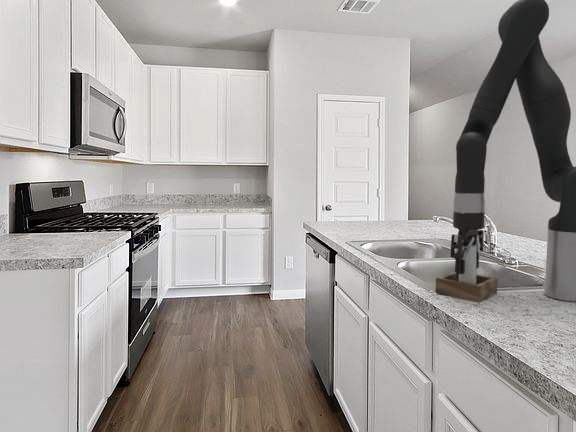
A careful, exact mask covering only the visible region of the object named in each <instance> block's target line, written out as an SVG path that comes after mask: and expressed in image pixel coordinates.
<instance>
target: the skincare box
mask: <svg viewBox="0 0 576 432" xmlns="http://www.w3.org/2000/svg"><path fill="white" fill-rule="evenodd" d="M466 247H467V246H462V248H466ZM476 249H477V247H476V244H475V245H471V248H470V251H469V253H467V254H466V257H465V259H464V260H465V273H464V274H459V282H464V283H469V284H475V285H476V275H477V269H476ZM462 253H463V252H462Z"/></svg>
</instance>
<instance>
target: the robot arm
mask: <svg viewBox="0 0 576 432" xmlns="http://www.w3.org/2000/svg"><path fill="white" fill-rule="evenodd" d="M549 18H550V7H549V5H548V2H547V0H517V1H516V2H514V3H512V5H511V6H510V7H509V8H507V10H506V11H504V13H503V14H502V15H501V17H500V18H499V21H498V27H497V30H498V36H499V38H500V41H501V44H500V47H499V51H498V52H497V55H496V57H495V58H494V61H493V63H492V64H491V67H490V69H489V71H488V72H487V74H486V76H485V77H484V79H483V81H482V83H481V84H480V86H479V89H478V91H477V93H476V95H475V98H474V100H473V102H472V105H471V107H470V111H469V114H468V118H467V121H466V123H465V125H464V128H463V129H462V132H461V133H460V134H461V135H460V136H459V138H458V140H457V142H456V145H455V153H456V174H455V180H454V198H453V208H452V209H453V211H452V212H453V215H452V227H453V228H455V229H457V230H458V231H457V234H453V233H452V234H451V236H450V237H451V240H450V241H451V242H450V258H451V259H452V258H453V259H454V272H455V273H457V274H464V273H465V260H464V259H465V257H466V254H467V253H469V251H470V248H471V245H475V244H476V247H477V249H476V270H477V269H479V267H480V255H481V252H484V250H485V249H484V248H485V247H484V245H485V244H484V238H485V237H484V236H485V233H484V230H483V229H484V228H485V219H486V218H485V212H486V209H485V208H486V199H485V185H486V183H485V180H486V179H485V178H486V177H485V168H486V161H487V151H488V150H487V149H488V148H487V145H488V141H489V139H490V137H491V133H492V131H493V129H494V127H495V125H496V124H497V122H498V120H499V118H500V116H501V114H502V111H503V109H504V106H505V104H506V102H507V99H508V97H509V95H510V93H511V90H512V87H513V85H514V83H515V82H516V85H517V88H518V93H519V95H520V99H521V103H522V107H523V111H524V113H525V117H526V120H527V123H528V126H529V129H530V132H531V136H532V139H533V143H534V147H535V150H536V153H537V159H538V162H539V163H538V164H539V169H540V175H541V181H542V186H543V189H544V193H545V194H546V195H547V197H548V198H549V199H550V200H552V201H553V202H557V203H559V208H558V212H557V214H556V215H554V216H552V217H550V218H549V220H548V224H547V236H546V237H547V242H546V259H545V260H546V261H545V276H544V277H545V278H544V292H543V294H544V295H545V296H546V297H549V298H553V299H555V300H559V301H567V302H576V166H574V165H573V163H572V161H571V158H570V157H571V156H570V155H569V150H568V142H567V141H568V134H569V129H570V126H571V125H570V124H571V118H572V112H571V106H570V102H569V99H568V95H567V92H566V88H565V86H564V84H563V81H562V80H561V79H560V77H559V76H558V74H557V73H556V71H555V70H554V69H553V68H552V66H551V65H550V63H549V62H548V61H547V59H546V57H545V54H544V52H543V48H542V45H541V40H540V35H541V33H542V31H543V29H544V28H545V27H546V25H547V23H548V21H549ZM462 246H467V247H466V248H462ZM462 252H463V253H462Z"/></svg>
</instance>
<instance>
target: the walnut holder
mask: <svg viewBox="0 0 576 432" xmlns="http://www.w3.org/2000/svg"><path fill="white" fill-rule="evenodd" d="M434 292H435V294H439V295H444V296H448V297H453V298H458V299H462V300H466V301H470V302H474V303H480V302H482V301H485V300H486V299H488V298H490V297H493V296H494V295H497V293H498V278H497V277H491V276H485V275H479V274H476V285H475V284H469V283H464V282H459V274H457V273H455V271H453V272H449V273H447V274H444V275H441V276H438V277H436V278H435V291H434Z"/></svg>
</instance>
